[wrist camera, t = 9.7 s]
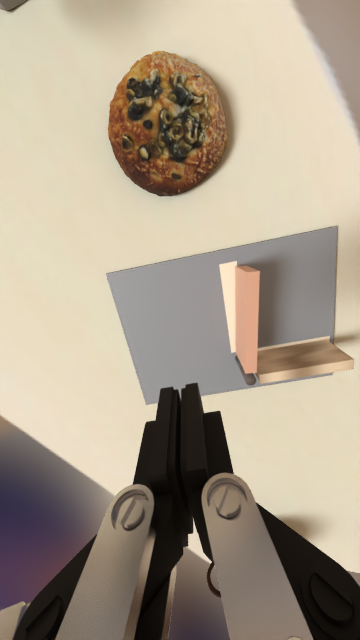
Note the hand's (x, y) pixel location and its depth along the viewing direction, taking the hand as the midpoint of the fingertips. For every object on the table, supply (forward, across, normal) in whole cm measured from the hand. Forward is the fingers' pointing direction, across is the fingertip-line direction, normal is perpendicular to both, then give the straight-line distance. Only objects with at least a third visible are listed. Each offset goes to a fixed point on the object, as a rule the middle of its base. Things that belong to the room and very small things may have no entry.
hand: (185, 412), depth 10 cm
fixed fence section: (+19, -12, +9) cm, 24 cm away
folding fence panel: (+18, -7, +2) cm, 19 cm away
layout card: (+19, -5, +4) cm, 20 cm away
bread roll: (+19, -2, -17) cm, 26 cm away
